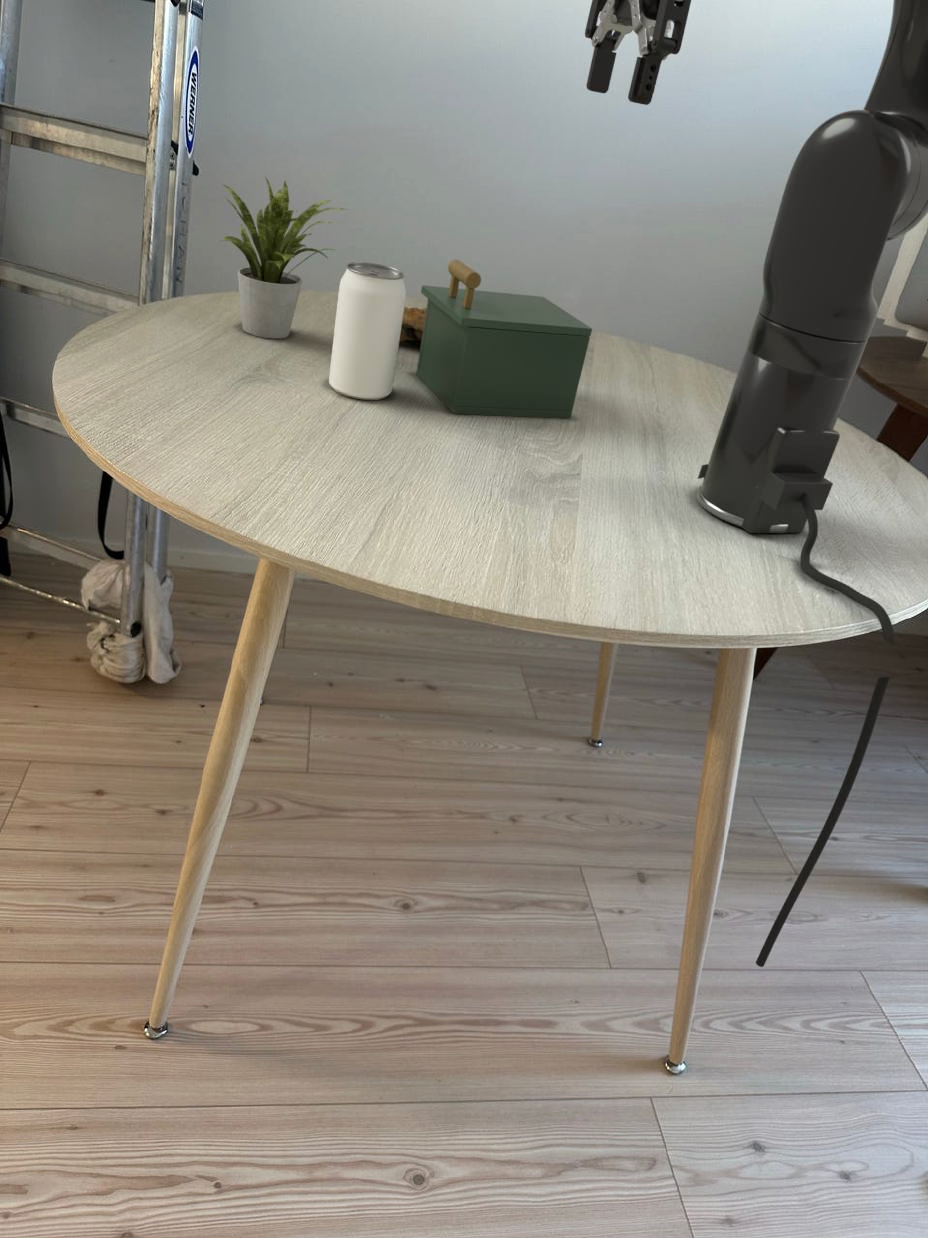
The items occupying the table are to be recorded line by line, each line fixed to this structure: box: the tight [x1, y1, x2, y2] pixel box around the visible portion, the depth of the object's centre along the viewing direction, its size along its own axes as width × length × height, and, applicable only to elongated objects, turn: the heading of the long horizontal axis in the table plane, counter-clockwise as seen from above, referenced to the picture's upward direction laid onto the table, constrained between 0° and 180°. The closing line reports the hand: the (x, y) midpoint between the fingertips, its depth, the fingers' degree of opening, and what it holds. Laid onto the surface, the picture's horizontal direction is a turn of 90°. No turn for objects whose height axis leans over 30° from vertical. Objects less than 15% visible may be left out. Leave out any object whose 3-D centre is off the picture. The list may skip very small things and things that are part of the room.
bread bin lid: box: [420, 259, 593, 337], centre depth 101 cm, size 14×12×4 cm
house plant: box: [219, 176, 348, 339], centre depth 108 cm, size 14×14×16 cm
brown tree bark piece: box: [399, 306, 427, 343], centre depth 120 cm, size 11×4×15 cm
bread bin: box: [415, 298, 591, 419], centre depth 105 cm, size 14×12×9 cm
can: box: [328, 261, 407, 401], centre depth 98 cm, size 6×6×12 cm
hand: (616, 97), depth 97 cm, fingers open, 8 cm apart
